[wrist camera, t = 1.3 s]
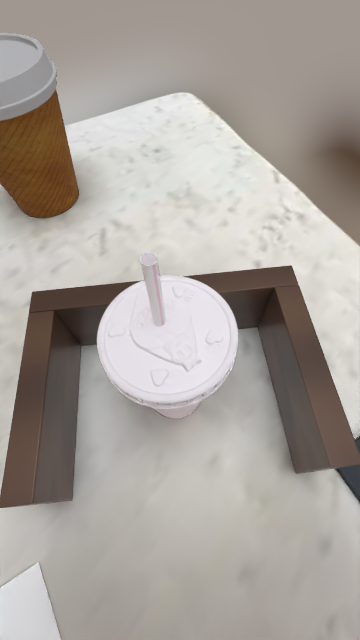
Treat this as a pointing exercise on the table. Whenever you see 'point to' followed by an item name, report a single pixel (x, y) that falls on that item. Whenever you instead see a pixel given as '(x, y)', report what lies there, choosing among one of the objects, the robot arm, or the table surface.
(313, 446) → the frame
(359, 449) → the mat
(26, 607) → the napkin holder
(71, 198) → the disposable coffee cup
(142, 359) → the smoothie
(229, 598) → the table surface
